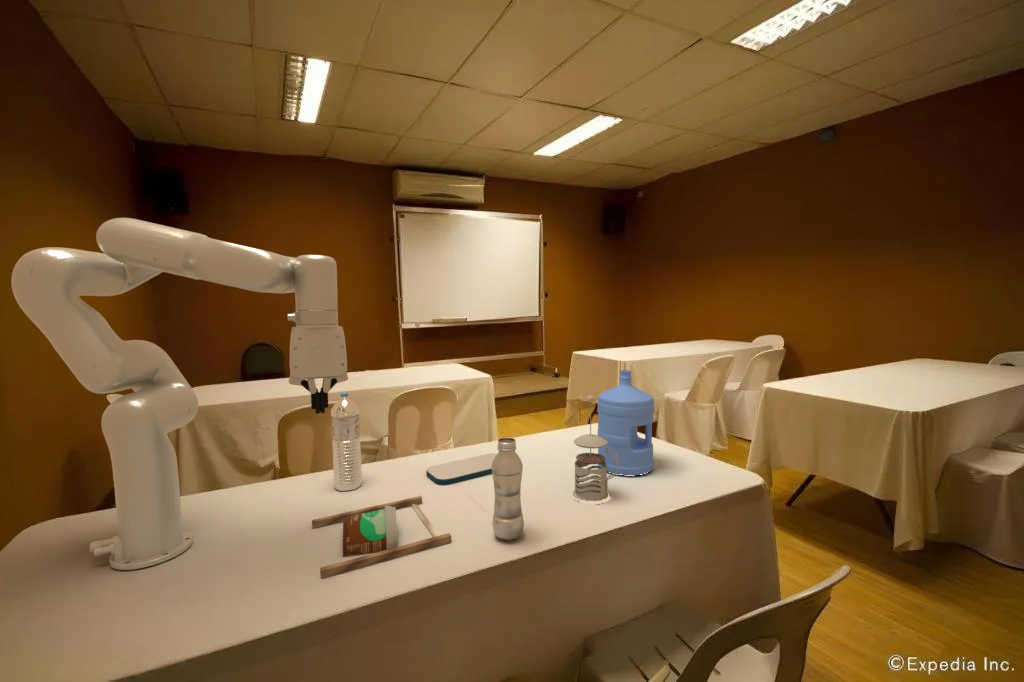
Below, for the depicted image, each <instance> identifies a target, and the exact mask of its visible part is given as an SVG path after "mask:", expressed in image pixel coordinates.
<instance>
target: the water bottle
mask: <svg viewBox="0 0 1024 682" xmlns="http://www.w3.org/2000/svg"><path fill="white" fill-rule="evenodd" d="M359 415H360V408H359V406H358V405H357V403H356V402H355V401H354V400H353V399H351V398H349V392H346V391H345V392H341V393H340V399H339V400H338V401H336V402H335V403H334V404H333V406H332V407H331V409H330V416H331V429H332V430H331V432H332V440H331V442H332V443H331V444H332V463H333V484H334V488H335V489H336V490H337V491H339V492H349V491H353V490H357V489H358V488H360V487H361V486H362V483H363V478H362V475H363V474H362V473H363V472H362V454H361V453H362V452H361V451H362V450H361V436H360V419H359V418H360V416H359Z"/></svg>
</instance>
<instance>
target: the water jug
mask: <svg viewBox="0 0 1024 682" xmlns="http://www.w3.org/2000/svg"><path fill="white" fill-rule="evenodd" d="M619 373H620V375H619V385H617V386H614V387H612V388H610V389H607V390H605V391H603V392H601V393H599V395H598V396H597V435H598V436H600V437H602V438H603V439H605V440H607V445H606V446H605V447H602V448H597V454H600V455H603V456H604V457H605V459H606V460H605V461H604V462H605V463H606V464H607V471H608V472H611V473H615V472H616V470H617V461H616V458H617V456H618V459H619V468H618V471H617V473H616V474H623V475H640V474H644V473H647V472H650V471H651V470H652V469H653V470H654V466H655V465H654V444H653V442H652V437H653V432H652V431H653V427H652V425H653V422H654V420H655V419H654V413H655V402H654V401H655V399H654V397H653V395H651V394H650V393H647V392H645V391H643V390H642V389H640V388H638V387H635V386H633V384H632V371H631V370H625V369H624V370H619ZM642 426H645V429H644V432H645V433H644V434H645V436H644V438H643V437H640V436H639V434H638V427H642ZM607 448H610V449H612V450H613V451H614V452H615V453H616V454H617V456H616V454H615V453H614V452H613V451H612V450H610V449H608V450H609V451H611V452H612V453H613V454H614V455H615V456H616V458H615V456H614V455H613V454H612V453H611V452H609V451H608V453H607V455H606V450H607ZM618 459H617V460H618ZM597 466H599V467H601V468H604V467H603V466H602V465H600V464H597ZM653 470H652V471H653ZM652 471H651V472H652ZM608 472H607V473H608ZM651 472H650V473H651Z"/></svg>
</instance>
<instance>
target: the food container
mask: <svg viewBox="0 0 1024 682" xmlns="http://www.w3.org/2000/svg"><path fill="white" fill-rule="evenodd" d="M397 523H398V522H397V509H395V507H392V506H385V509H382V510H378V511H373V512H368V513H364V514H359V515H355V516H350V517H346V518H344V521H343V524H342V557H352V556H360V555H369V554H373V553H377V552H380V551H384V550H388V549H391V548H395V547H399V544H398V542H399V541H398V524H397Z"/></svg>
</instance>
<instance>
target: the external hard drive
mask: <svg viewBox="0 0 1024 682" xmlns="http://www.w3.org/2000/svg"><path fill="white" fill-rule="evenodd" d="M496 455H497V453H487V454H482V455H477V456H472V457H468V458H463V459H460V460H454V461H450V462H447V463H440V464H436V465H432V466H430V467H428V468H426V472H425V473H426V477H427V478H428V479H430V480H431V481H432V482H433V483H434V484H436V485H439V486H449V485H453V484H458V483H462V482H466V481H470V480H473V479H477V478H481V477H485V476H490V475H492V467H491V466H492V462H493V460H494V458H495V456H496Z"/></svg>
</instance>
